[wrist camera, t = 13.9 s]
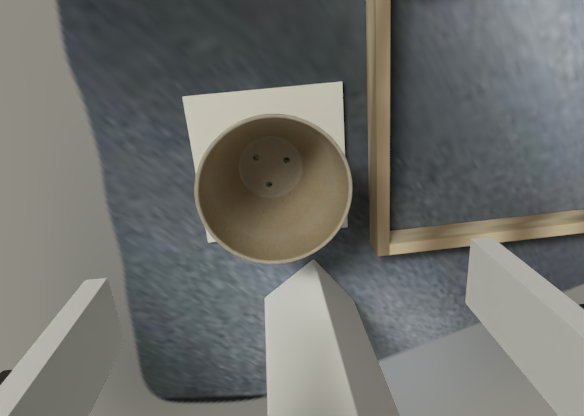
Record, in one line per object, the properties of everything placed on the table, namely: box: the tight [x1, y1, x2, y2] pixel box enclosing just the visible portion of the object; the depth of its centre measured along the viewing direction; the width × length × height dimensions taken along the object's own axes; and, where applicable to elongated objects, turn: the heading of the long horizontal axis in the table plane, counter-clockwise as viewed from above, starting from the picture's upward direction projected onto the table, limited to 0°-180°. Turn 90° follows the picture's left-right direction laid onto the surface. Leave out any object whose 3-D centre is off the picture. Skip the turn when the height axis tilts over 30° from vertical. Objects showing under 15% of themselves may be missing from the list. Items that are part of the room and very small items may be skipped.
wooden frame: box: [366, 0, 584, 256], centre depth 31 cm, size 26×22×2 cm
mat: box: [182, 81, 348, 243], centre depth 32 cm, size 12×12×1 cm
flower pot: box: [194, 114, 353, 264], centre depth 28 cm, size 10×10×7 cm
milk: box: [265, 259, 399, 416], centre depth 26 cm, size 6×6×22 cm
